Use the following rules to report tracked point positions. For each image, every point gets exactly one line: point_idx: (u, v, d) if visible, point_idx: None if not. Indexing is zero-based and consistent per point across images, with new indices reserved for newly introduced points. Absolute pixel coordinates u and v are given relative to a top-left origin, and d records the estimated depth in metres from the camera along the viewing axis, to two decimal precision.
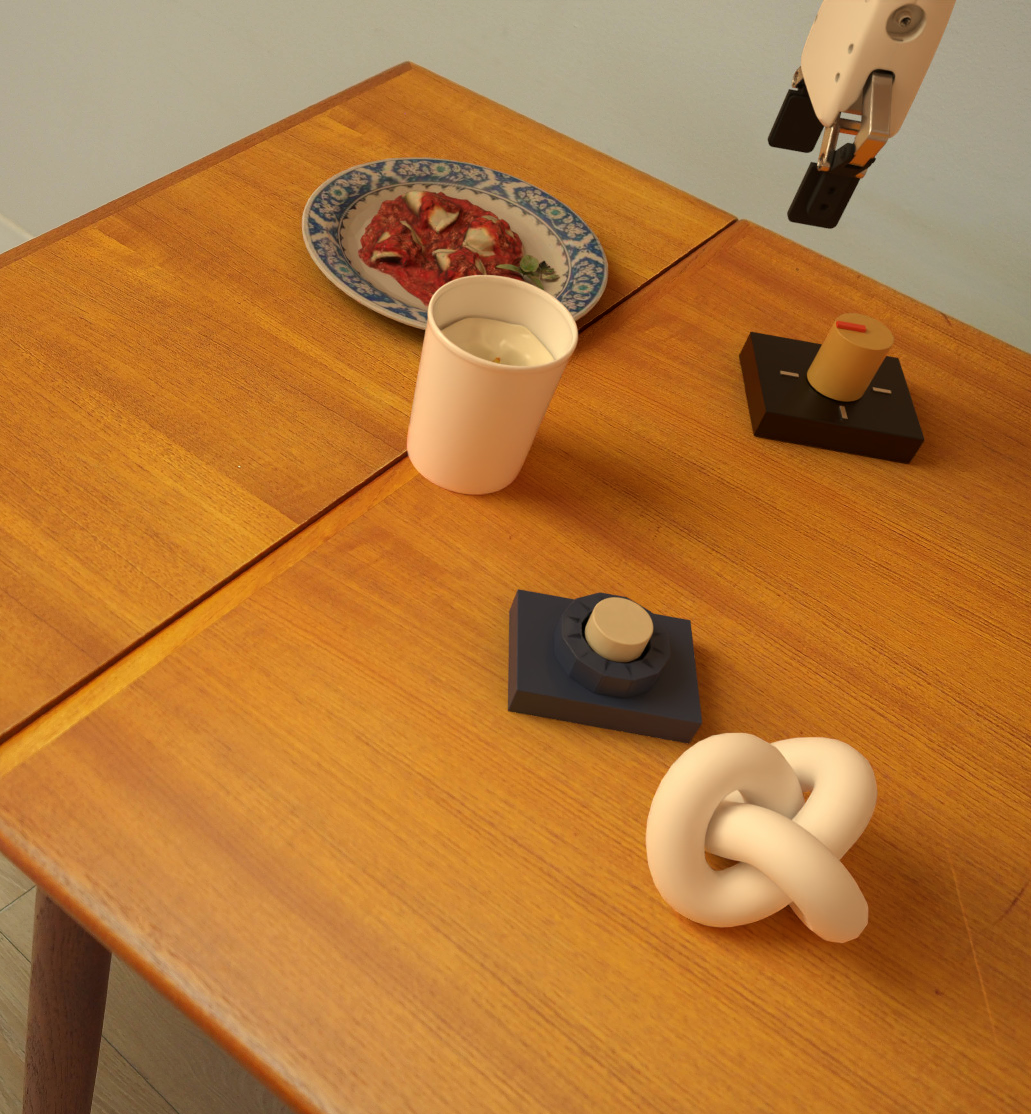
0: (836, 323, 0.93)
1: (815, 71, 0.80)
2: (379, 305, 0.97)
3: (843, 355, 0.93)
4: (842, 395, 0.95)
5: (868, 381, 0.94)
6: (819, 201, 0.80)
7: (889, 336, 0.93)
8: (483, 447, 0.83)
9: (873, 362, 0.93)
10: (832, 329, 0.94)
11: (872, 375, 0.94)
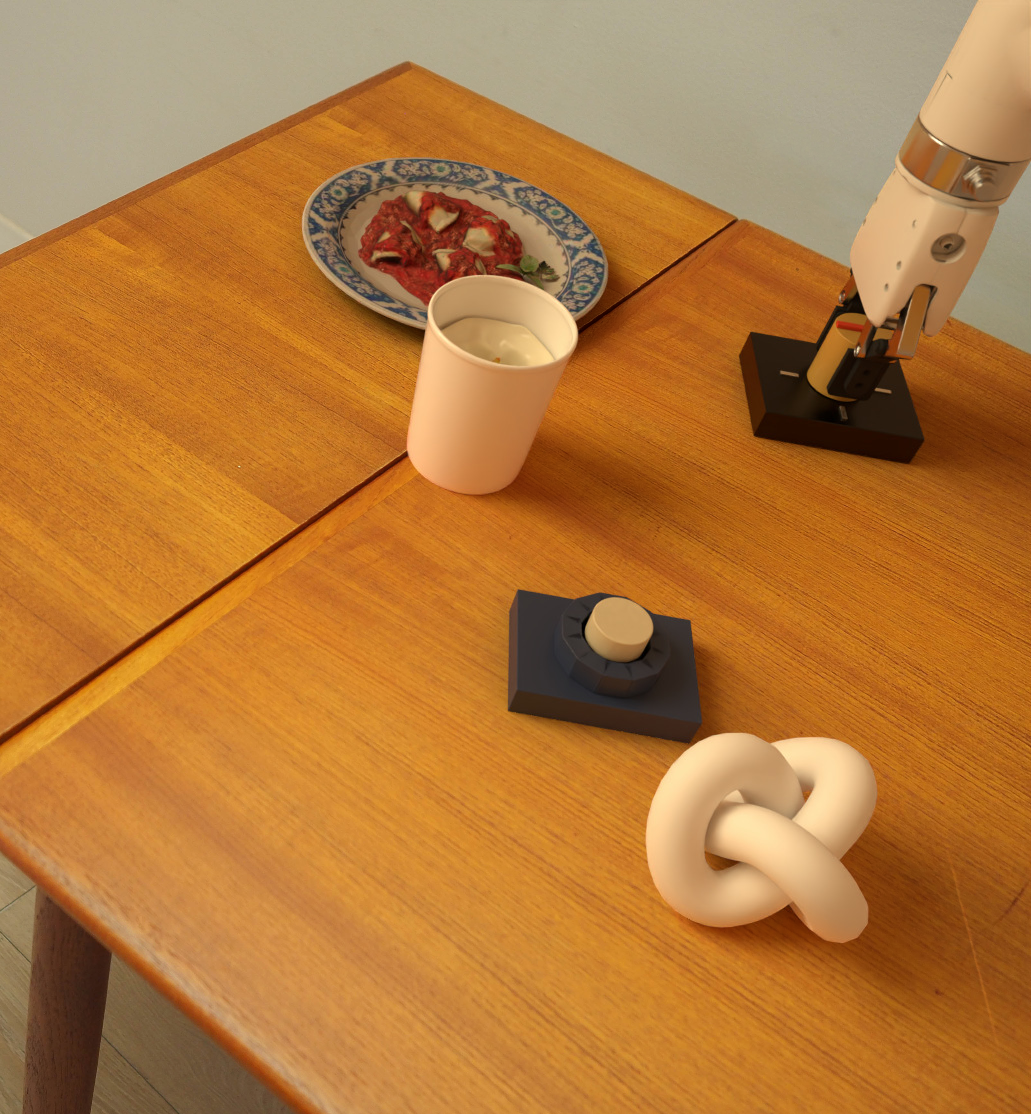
0: (836, 323, 0.93)
1: (864, 273, 0.90)
2: (379, 305, 0.97)
3: (843, 355, 0.93)
4: None
5: None
6: (855, 381, 0.92)
7: (889, 336, 0.93)
8: (483, 447, 0.83)
9: None
10: (832, 329, 0.94)
11: None
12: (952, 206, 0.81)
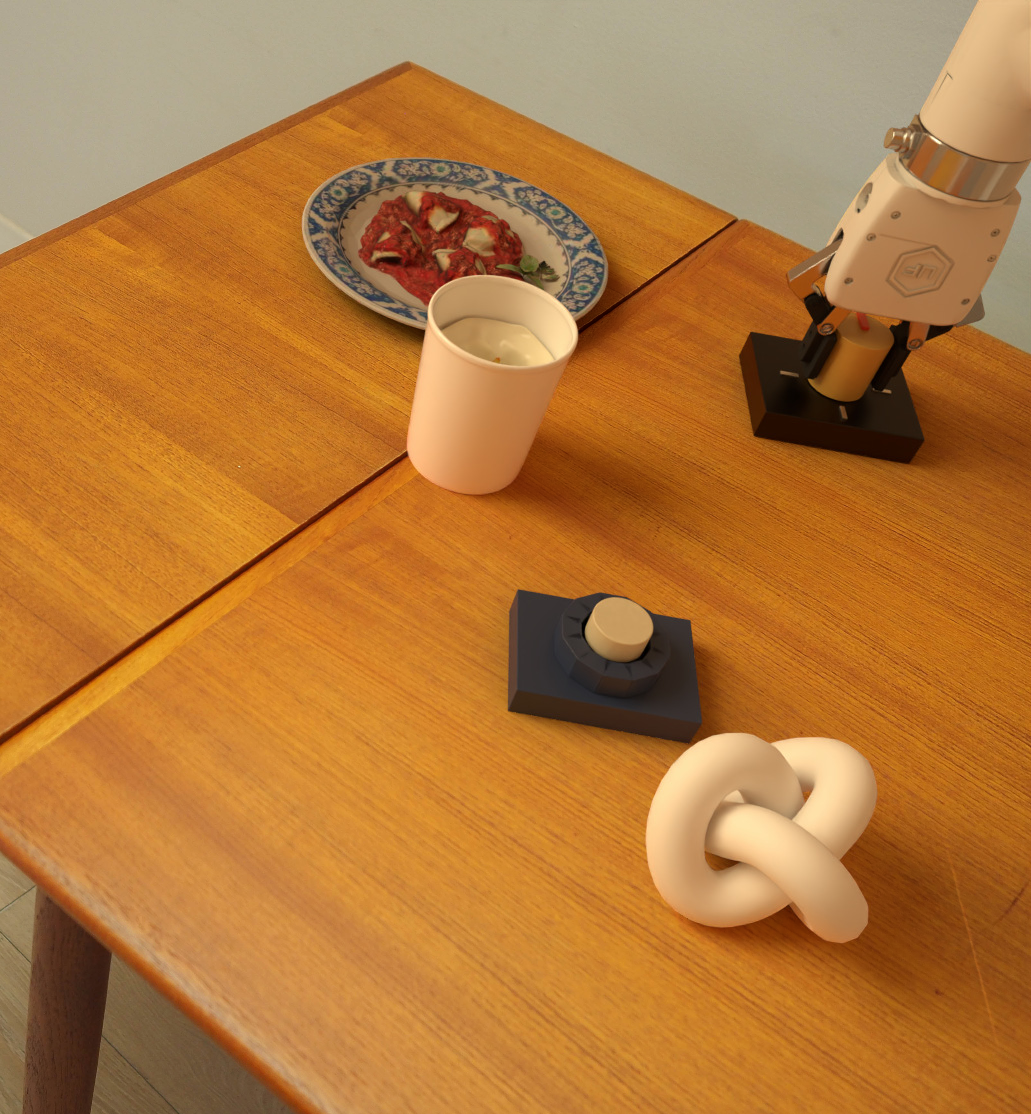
0: None
1: None
2: (379, 305, 0.97)
3: None
4: None
5: (826, 371, 0.95)
6: (804, 340, 0.95)
7: (867, 345, 0.92)
8: (483, 447, 0.83)
9: None
10: None
11: (831, 367, 0.94)
12: (889, 160, 0.85)
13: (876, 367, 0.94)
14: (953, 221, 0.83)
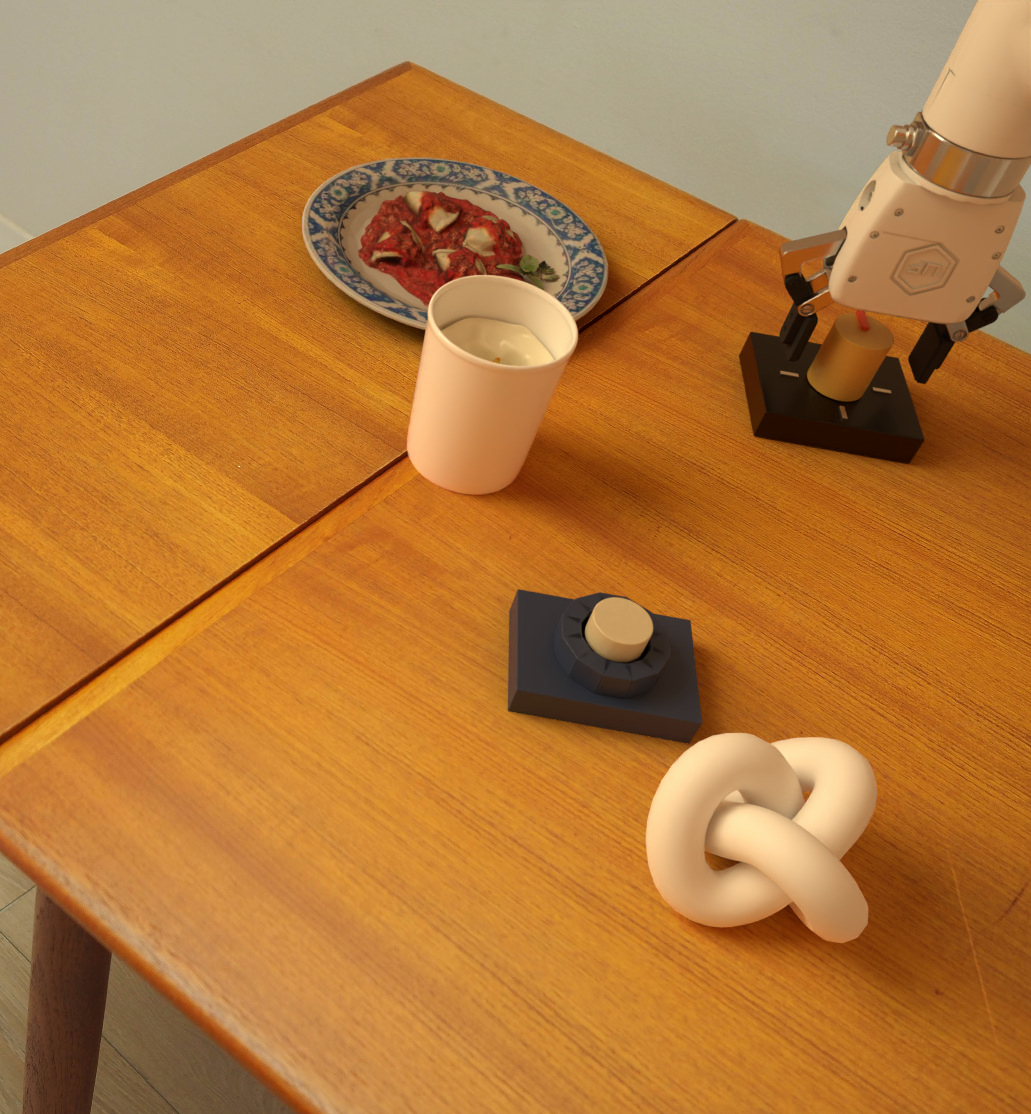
0: None
1: None
2: (379, 305, 0.97)
3: None
4: (810, 372, 0.97)
5: (827, 371, 0.95)
6: (786, 322, 0.94)
7: (867, 345, 0.92)
8: (483, 447, 0.83)
9: (832, 345, 0.94)
10: None
11: (831, 368, 0.94)
12: (893, 157, 0.84)
13: (876, 367, 0.94)
14: (957, 218, 0.83)
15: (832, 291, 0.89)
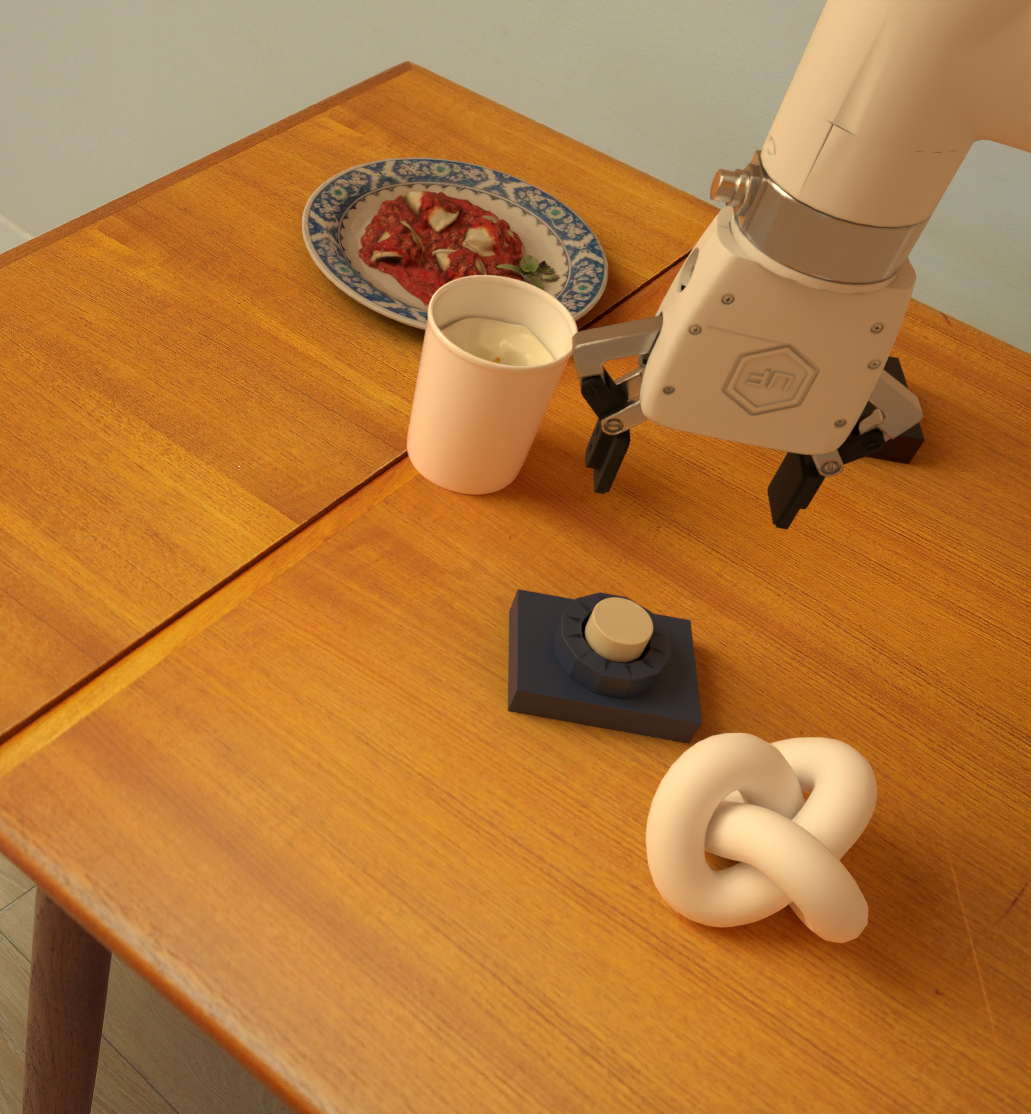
0: None
1: None
2: (379, 305, 0.97)
3: None
4: None
5: None
6: (592, 438, 0.66)
7: None
8: (483, 447, 0.83)
9: None
10: None
11: None
12: (723, 216, 0.57)
13: None
14: (813, 310, 0.55)
15: (643, 405, 0.61)
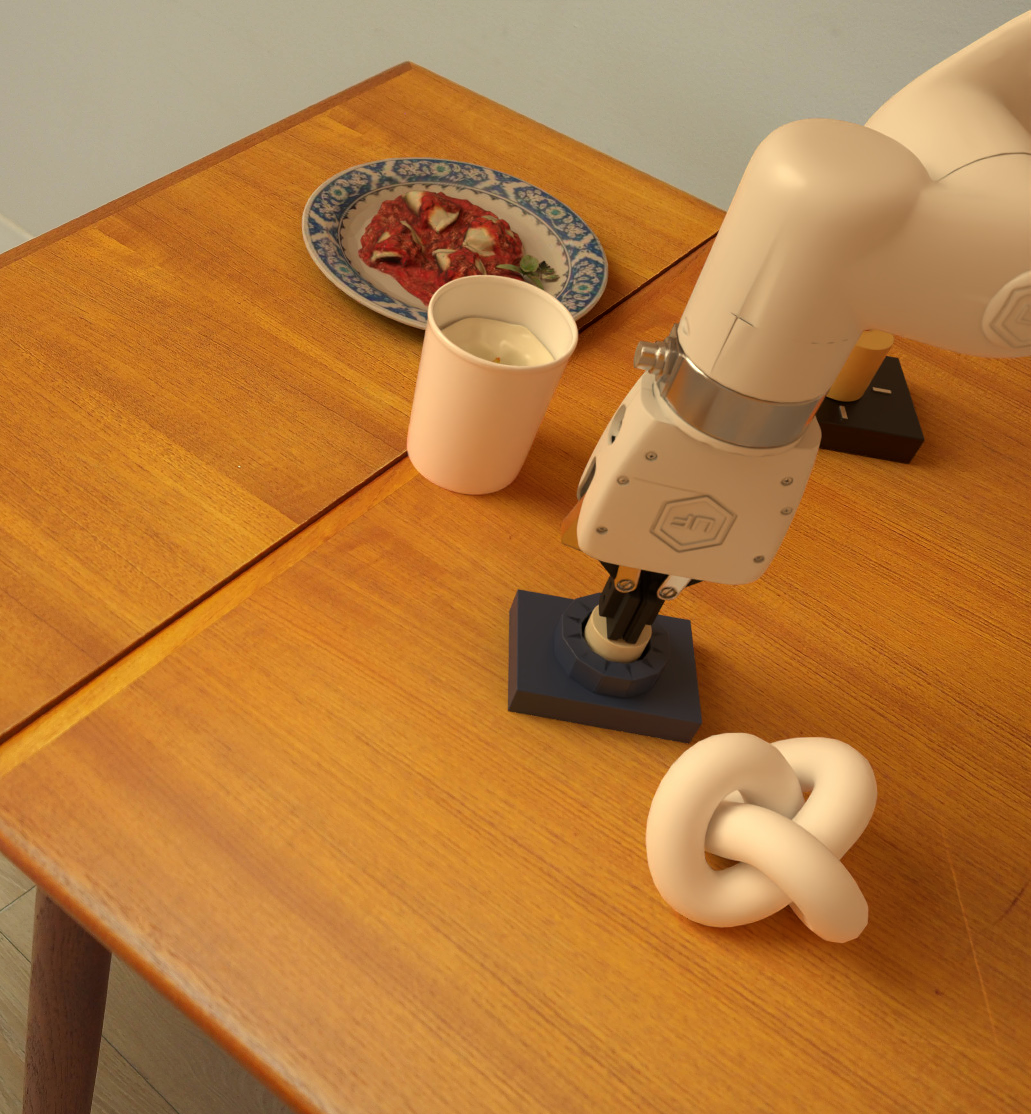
0: None
1: None
2: (379, 305, 0.97)
3: None
4: None
5: None
6: (605, 590, 0.73)
7: (867, 345, 0.92)
8: (483, 447, 0.83)
9: None
10: None
11: None
12: (647, 378, 0.62)
13: (876, 367, 0.94)
14: (729, 466, 0.61)
15: (579, 541, 0.66)
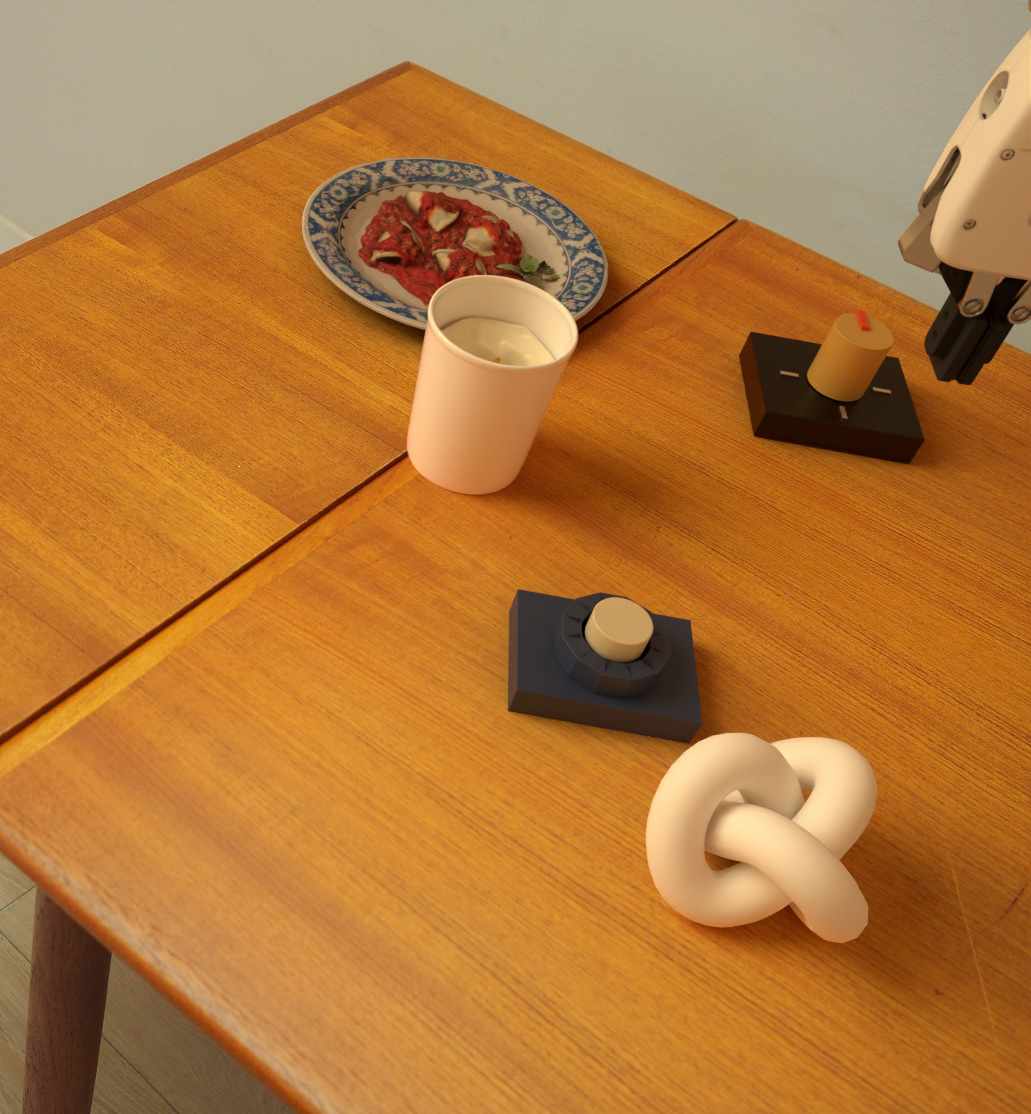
0: None
1: None
2: (379, 305, 0.97)
3: None
4: (810, 372, 0.97)
5: (827, 371, 0.95)
6: (935, 325, 0.65)
7: (867, 345, 0.92)
8: (483, 447, 0.83)
9: (832, 345, 0.94)
10: None
11: (831, 368, 0.94)
12: None
13: (876, 367, 0.94)
14: None
15: (937, 244, 0.59)
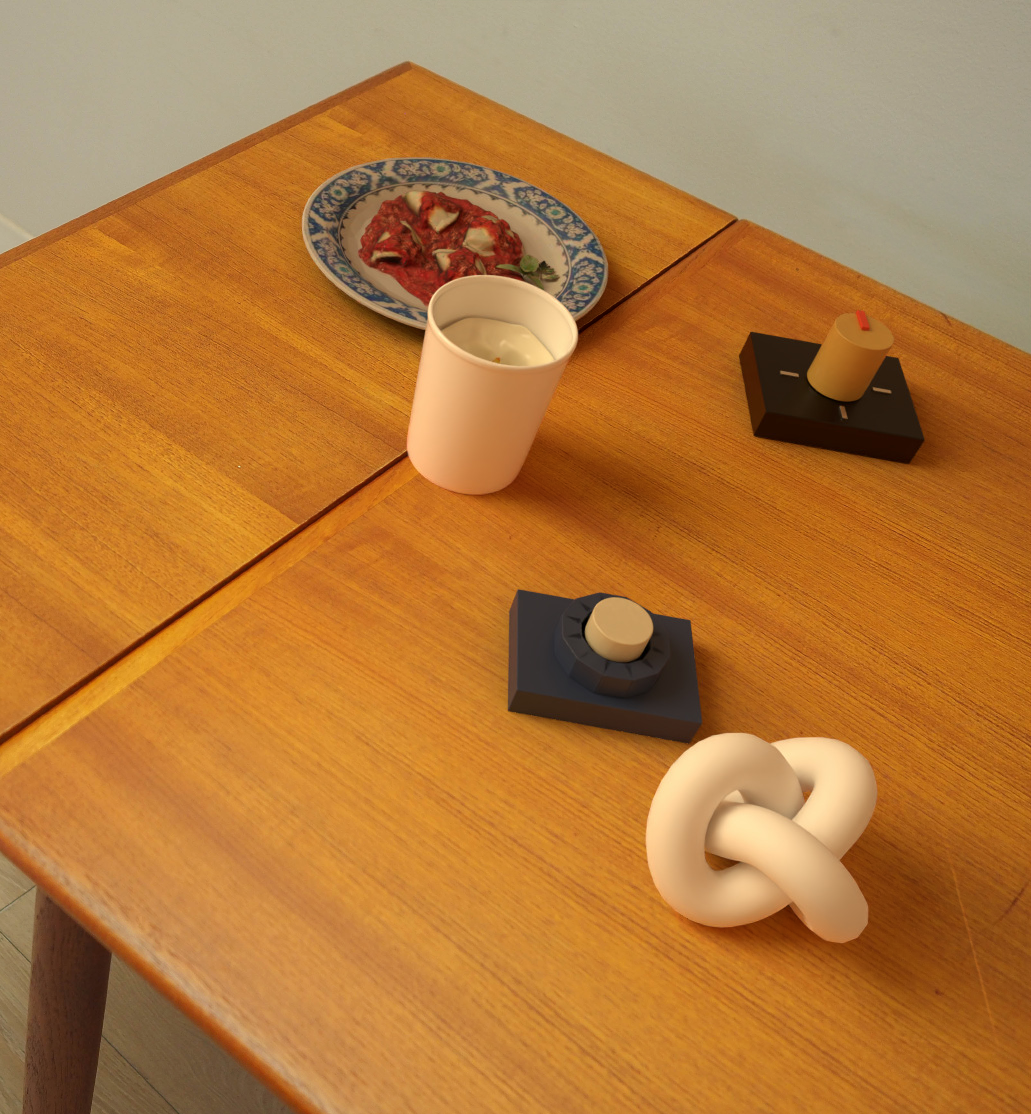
0: None
1: None
2: (379, 305, 0.97)
3: None
4: (810, 372, 0.97)
5: (827, 371, 0.95)
6: None
7: (867, 345, 0.92)
8: (483, 447, 0.83)
9: (832, 345, 0.94)
10: None
11: (831, 368, 0.94)
12: None
13: (876, 367, 0.94)
14: None
15: None
